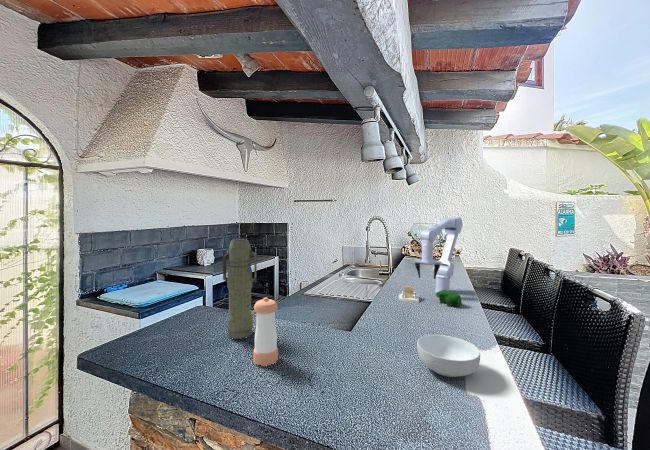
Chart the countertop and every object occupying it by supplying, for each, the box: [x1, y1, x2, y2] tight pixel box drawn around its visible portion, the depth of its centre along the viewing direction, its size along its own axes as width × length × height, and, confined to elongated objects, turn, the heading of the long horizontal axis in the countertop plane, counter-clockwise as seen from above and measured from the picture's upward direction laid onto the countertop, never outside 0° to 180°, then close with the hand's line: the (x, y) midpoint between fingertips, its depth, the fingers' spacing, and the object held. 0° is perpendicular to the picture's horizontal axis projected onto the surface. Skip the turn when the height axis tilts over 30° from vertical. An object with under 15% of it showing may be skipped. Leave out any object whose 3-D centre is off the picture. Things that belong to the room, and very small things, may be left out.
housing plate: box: [398, 290, 420, 303], centre depth 155 cm, size 10×10×3 cm
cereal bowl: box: [416, 334, 481, 378], centre depth 85 cm, size 17×17×7 cm
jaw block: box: [404, 285, 414, 298], centre depth 155 cm, size 4×4×5 cm
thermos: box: [222, 238, 258, 340], centre depth 108 cm, size 9×12×35 cm
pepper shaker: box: [252, 297, 279, 367], centre depth 89 cm, size 7×7×19 cm
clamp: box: [435, 290, 463, 308], centre depth 147 cm, size 12×6×9 cm, turn 11°
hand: (426, 278), depth 158 cm, fingers open, 7 cm apart
